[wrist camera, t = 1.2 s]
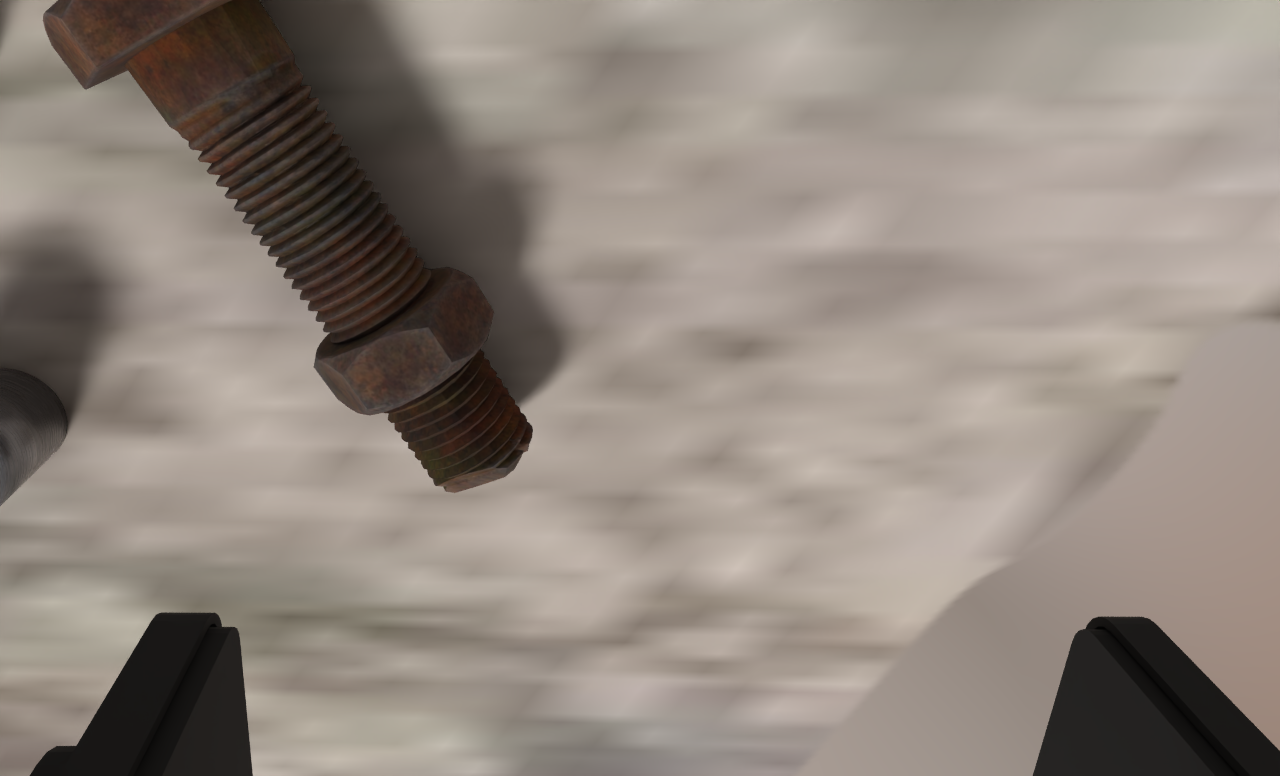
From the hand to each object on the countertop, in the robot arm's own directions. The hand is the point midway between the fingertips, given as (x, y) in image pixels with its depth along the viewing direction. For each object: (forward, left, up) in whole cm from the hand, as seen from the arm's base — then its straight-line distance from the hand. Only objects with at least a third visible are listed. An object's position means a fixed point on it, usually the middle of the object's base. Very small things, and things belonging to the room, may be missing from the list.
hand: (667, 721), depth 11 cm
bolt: (+6, -1, -19) cm, 20 cm away
